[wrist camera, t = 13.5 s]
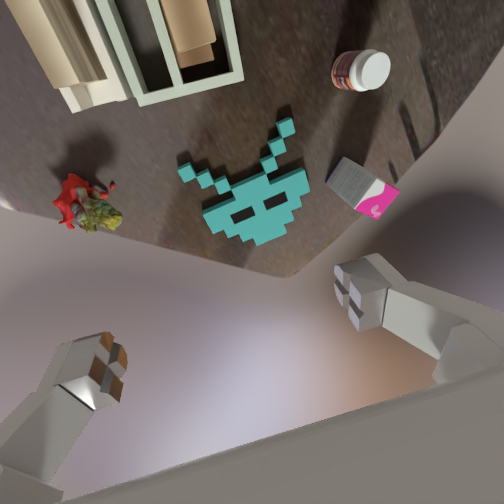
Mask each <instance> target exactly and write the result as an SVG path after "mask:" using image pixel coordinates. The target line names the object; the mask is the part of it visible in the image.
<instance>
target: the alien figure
mask: <svg viewBox="0 0 504 504" xmlns="http://www.w3.org/2000/svg"><path fill="white" fill-rule="evenodd" d="M276 125H277V129H278V132H279V137H277V138H274V139H272V140H270V141H268V145H269V148H270V151H271V154H270V155H268V156H266V157H264V158H262V159H260V161H261V164H262V167H263V170H264V171H262V172H260V173H258V174H256V175H253V176H251V177H249V178H247V179H244V180H242V181H240V182H238V183H236V184H233V185H231V186H230V185H229V183H228V180H227V178H226V176H225V175H224V176H221V177H219V178H217V179H215V180H213V178H212V176H211V174H210V172H209V170H208V169H206V170H204V171H201V172H199V173H197V174H196V173H195V171H194V169H193V167H192V165H191V163H190V162H188V163H186V164H184V165H182V166H180V167H178V170H177V171H178V172H179V174H180V176H181V178H182V180H183V181H184V183H185V182H187V181H189V180H191V179H194V178H197V179H198V181H199V183H200V185H201V187H202V189H203V188H206V187H208V186H210V185H212V184H215V186H216V188H217V190H218V192H219V194H223V193H225V192H227V191H229V190H232V192H233V195H234V197H232V198H230V199H228V200H226V201H223V202H221V203H219V204H216V205H214V206H212V207H210V208H207V209H205V210H203V211H202V214H203V217H204V218H205V220H206V222H207V224H208V225H209V227H210V229H211V231H212V233H213V234H214V233H216V232H219V231H221V230H223V229H224V231H225V232H226V234H227V236H228V238H230V237H232V236H234V235H237V234H239V235H240V237H241V239H242V241H243V242H244V241H247V240H249V239H251V238H253V239H254V241H255V243H256V245H257V246H258V245H260V244H262V243H265V242H267V241H269V240H272V239H274V238H276V237H279V236H281V235H283V234H286V233H287V232H286V229H285V226H284V224H286V223H288V222H291V221H293V220H294V218H293V215H292V212H291V211H292V210H294V209H297V208H299V207H301V206H302V205H301V201H300V198H299V196H301V195H303V194H306V193H308V192H310V189H309V185H308V181H307V177H306V173H305V170H304V169H303V168H302V167H300V168H298V169H296V170H293V171H291V172H289V173H287V174H284V175H282V176H280V177H278V178H275V179H273V180H271V181H268V178H267V175H266V174H267V173H270V172H272V171H274V170H276V169H278V167H277V164H276V161H275V158H274V157H275V156H277V155H279V154H281V153H284V152H286V148H285V145H284V141H283V138H284V137H287V136H289V135H291V134H293V133H295V130H294V126H293V122H292V118H290V117H287V118H285V119H283V120H281V121H278V122H276Z"/></svg>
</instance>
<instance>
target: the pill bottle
mask: <svg viewBox="0 0 504 504" xmlns="http://www.w3.org/2000/svg"><path fill="white" fill-rule="evenodd" d="M389 72H390V59H389V57H388V56H387V55H386V54H385V53H383V52H377V51H376V50H373V49H367V50H358V51H349V52H345V53H343V54H341V55H340V56H339V57H338V58H337V59H336V61H335V62H334V64H333V67H332V72H331V75H332V81H333V83H334V85H335V86H337V87H338V88H341V89H347V90H354V91H366V90H369V89H376V88H378V87H380V86H381V85H382V84H383V83H384V82H385V80H386V79H387V77H388V75H389Z"/></svg>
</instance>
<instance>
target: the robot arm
mask: <svg viewBox="0 0 504 504" xmlns="http://www.w3.org/2000/svg"><path fill="white" fill-rule="evenodd" d="M334 274H335V275H336V277H337V280H336V281H335V292H336V295H337V298H338V300H339V302H340V304H341V305H342V307H343V308H346V309H347V310H349V318H350V319H351V321H352V322H353V324H354V325H355V327H356V328H357V330H358V332H359V331H362V330H366V329H370V328H373V327H377V326H381V325H383V327H384V328H386V329H388V330H389V331H391V332H392V333H394V334H396V335H398V336H399V337H401V338H402V339H404V340H406V341H407V342H409V343H411V344H412V345H414V346H416V347H418V348H419V349H421V350H422V351H424V352H426V353H427V354H429V355H431V356H432V357H434V358H436V359H437V360H438V363H437V365H436V367H435V370H434V372H433V376H432V377H433V379H434V380H435V381H436V382H437V385H434V386H431V387H427V388H424V389H421V390H418V391H414V392H411V393H408V394H405V395H402V396H398V397H395V398H392V399H389V400H385V401H382V402H379V403H376V404H373V405H369V406H366V407H363V408H360V409H357V410H354V411H350V412H347V413H344V414H341V415H337V416H334V417H331V418H328V419H324V420H321V421H318V422H315V423H312V424H309V425H305V426H302V427H299V428H295V429H293V430H289V431H286V432H283V433H279V434H276V435H273V436H270V437H267V438H264V439H260V440H257V441H254V442H250V443H247V444H244V445H241V446H238V447H235V448H231V449H228V450H225V451H222V452H218V453H215V454H212V455H209V456H206V457H202V458H199V459H196V460H193V461H189V462H186V463H183V464H180V465H177V466H173V467H170V468H167V469H164V470H160V471H158V472H154V473H151V474H148V475H144V476H141V477H138V478H135V479H132V480H128V481H126V482H122V483H119V484H116V485H112V486H109V487H106V488H103V489H100V490H96V491H93V492H90V493H87V494H84V495H80V496H77V497H74V498H71V499H68V500H64V501H61V499H62V496H63V492H64V491H63V490H62V488H61V487H59V486H56V485H54V484H51V483H49V482H50V480H51V479H52V477H53V476H54V474H55V473H56V471H57V470H58V468H59V466H60V465H61V464H62V462H63V460H64V459H65V457H66V456H67V454H68V453H69V451H70V450H71V448H72V447H73V445H74V444H75V442H76V440H77V439H78V437H79V436H80V434H81V433H82V431H83V430H84V428H85V427H86V425H87V423H88V422H89V420H90V419H91V417H92V416H93V414H94V411H97V410H100V409H103V408H106V407H109V406H112V405H115V404H118V403H120V398H121V393H122V388H123V382H122V380H121V379H120V378H121V377H122V375H123V374H124V373H125V372H126V369H127V364H128V361H127V354H126V352H125V350H124V348H123V346H122V345H120V344H117V343H114V336H113V335H112V334H111V333H110V332H102V333H99V334H94V335H91V336H87V337H83V338H79V339H76V340H73V341H69V342H65V343H62V344H61V345H59V346H58V347H57V349H56V351H55V353H54V355H53V357H52V359H51V361H50V363H49V365H48V368H47V369H46V372H45V374H44V376H43V378H42V380H41V382H40V384H39V386H38V388H37V390H36V392H33V393H31V394H29V396H28V397H27V398H26V399H25V400H24V401H23V402H22V403H21V404H20V405H19V406H18V407H17V408H16V409H15V410H14V411H13V412H12V413H11V414H10V415H9V416H8V417H7V418H6V419H5V420H4V421H3V422H2V423H1V424H0V504H504V313H502V312H501V311H498V310H495V309H493V308H490V307H486V306H484V305H481V304H478V303H475V302H472V301H469V300H467V299H464V298H461V297H458V296H455V295H452V294H449V293H446V292H443V291H440V290H437V289H435V288H432V287H429V286H426V285H423V284H420V283H417V282H415V281H411V282H408V281H407V280H406V279H405V278H404V277H403V276H402V275H401V274H400V273H399V272H398V271H396V270H395V269H394V268H393V267H392V266H391V265H390V264H389V263H388V262H387V261H386V260H385V259H384V258H383V257H382V256H381V255H380V254H378V253H374V254H371V255H368V256H364V257H362V258H358V259H355V260H351V261H348V262H345V263H341V264H338V265H335V268H334Z"/></svg>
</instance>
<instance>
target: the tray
mask: <svg viewBox="0 0 504 504" xmlns="http://www.w3.org/2000/svg"><path fill="white" fill-rule="evenodd" d="M146 1H147V4H148V7H149V10H150V13H151V16H152V19H153V23H154V26H155V29H156V32H157V35H158V38H159V41H160V44H161V47H162V51H163V54H164V57H165V60H166V63H167V66H168V69H169V72H170V76H171V79H172V82H173V85H174V86H171V87H167V88H163V89H159V90H155V91H151V92H148V89H147V86H146V84H145V81H144V78H143V76H142V73H141V70H140V68H139V65H138V62H137V60H136V57H135V54H134V52H133V49H132V46H131V44H130V41H129V38H128V36H127V33H126V30H125V28H124V25H123V22H122V20H121V17H120V14H119V12H118V9H117V6H116V4H115V1H114V0H95V2H96V4H97V7H98V9H99V12H100V14H101V17H102V19H103V21H104V24H105V26H106V29H107V31H108V34H109V36H110V39H111V41H112V44H113V46H114V49H115V51H116V53H117V56H118V58H119V61H120V63H121V66H122V68H123V71H124V73H125V76H126V78H127V80H128V83H129V85H130V88H131V90H132V93H133V95H134V97H136V99H137V101H138V104H139V106H140V107H141V106H145V105H149V104H153V103H157V102H161V101H165V100H169V99H172V98H176V97H180V96H184V95H188V94H192V93H196V92H200V91H204V90H208V89H212V88H216V87H220V86H224V85H228V84H232V83H236V82H240V81H244V76H243V70H242V65H241V59H240V54H239V48H238V43H237V37H236V31H235V26H234V20H233V15H232V9H231V4H230V0H215V1H216V6H217V11H218V16H219V21H220V26H221V31H222V35H223V40H224V45H225V50H226V55H227V60H228V65H229V69H230V72H226V73H222V74H218V75H214V76H210V77H206V78H202V79H198V80H195V81H191V82H187V83H184V81H183V78H182V74H181V71H180V69H179V66H178V62H177V59H176V56H175V52H174V49H173V46H172V42H171V39H170V36H169V32H168V29H167V26H166V22H165V19H164V16H163V13H162V9H161V6H160V3H159V0H146Z"/></svg>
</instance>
